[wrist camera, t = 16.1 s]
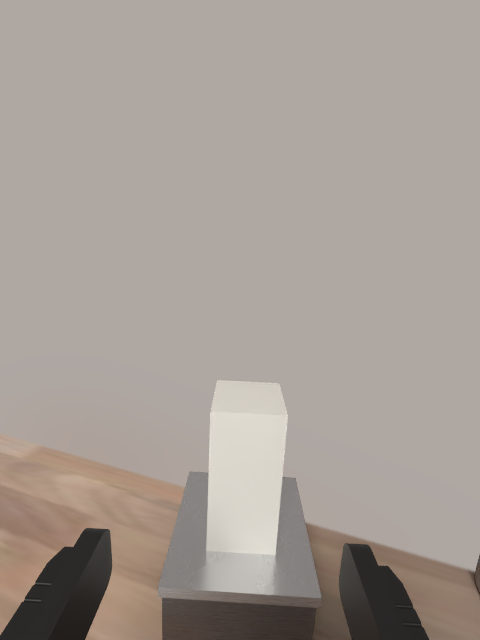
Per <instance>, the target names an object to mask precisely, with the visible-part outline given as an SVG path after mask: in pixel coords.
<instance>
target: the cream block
mask: <svg viewBox="0 0 480 640" xmlns="http://www.w3.org/2000/svg"><path fill="white" fill-rule="evenodd" d="M287 421H288V414H287V410H286V407H285V403H284V400H283V396H282V392H281V389H280V385H279V383H260V382H241V381H222V380H217V384H216V389H215V393H214V398H213V403H212V407H211V412H210V445H209V477H208V510H207V542H206V551H215V552H234V553H253V554H272V555H276V544H277V532H278V521H279V510H280V499H281V488H282V476H283V465H284V454H285V442H286V432H287Z"/></svg>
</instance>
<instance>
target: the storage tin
mask: <svg viewBox="0 0 480 640" xmlns="http://www.w3.org/2000/svg"><path fill="white" fill-rule="evenodd" d="M208 477H209V473H203V472H189V476H188V480H187V483H186V487H185V491H184V494H183V498H182V502H181V505H180V509H179V513H178V516H177V520H176V524H175V527H174V531H173V535H172V538H171V542H170V546H169V549H168V553H167V557H166V560H165V564H164V568H163V571H162V575H161V579H160V582H159V586H158V597H161V598H162V634H163V640H312V636H313V628H314V620H315V613H316V608H321V600H322V597H321V592H320V588H319V583H318V579H317V574H316V570H315V565H314V561H313V556H312V551H311V547H310V542H309V538H308V533H307V529H306V524H305V520H304V515H303V511H302V506H301V501H300V497H299V492H298V488H297V483H296V479H295V478H285V477H282V488H281V499H280V510H279V521H278V532H277V544H276V555H272V554H253V553H234V552H215V551H206V542H207V510H208Z"/></svg>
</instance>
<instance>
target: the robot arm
mask: <svg viewBox="0 0 480 640" xmlns="http://www.w3.org/2000/svg"><path fill="white" fill-rule="evenodd" d="M111 571H112V553H111V538H110V530H109V529H95V528H86V529H85V530H84V531H83V532H82V534H81V535H80V537H79V539H78V540H77V542H76V544H75V545H74V547H64V548H63V549H62V550H61V551H60V552H59V553H57V554H56V555H55V556H54V557H53V558H52V559H51V560H50V561H49V562H48V563H47V565H46V566H45V568H44V569H43V571H42V572H41V574H40V575H39V577H38V579H37V580H36V582H35V585H33V586H32V588H31V589H30V591H29V592H28V594H27V595H26V597H25V600H24V602H22V603H21V605H20V606H19V608H18V609H17V611H16V612H15V614H14V615H13V617H12V618H11V620H10V622H9V623H8V625H7V626H6V628H5V629H4V631H3V632H2V634H1V635H0V640H85V638H86V636H87V634H88V631H89V629H90V626H91V624H92V622H93V619H94V617H95V615H96V612H97V610H98V608H99V605H100V603H101V600H102V598H103V596H104V593H105V591H106V589H107V586H108V583H109V580H110V576H111ZM475 580H476V585H477V587H478V590H479V592H480V556H479V559H478V563H477V567H476V572H475ZM339 589H340V596H341V601H342V605H343V609H344V612H345V616H346V620H347V623H348V627H349V631H350V634H351V638H352V640H429V638H428V636H427V634H426V632H425V630H424V628H423V627H422V625H421V621H420V619H419V617H418V615H417V613H416V611H415V609H413V605H412V602H411V600H410V598H409V596H408V594H407V592H406V590H405V588H404V586H403V584H402V583H401V581H400V580H399V579H398V578H397V576H396V575H395V574H394V573H393V572H392V570H391V569H390V568H389V567H388V566H378V564H377V562H376V559H375V557H374V555H373V552H372V550H371V548H370V547H369V546H368V545H365V544H347V543H346V544H344V548H343V554H342V561H341V569H340V576H339Z"/></svg>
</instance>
